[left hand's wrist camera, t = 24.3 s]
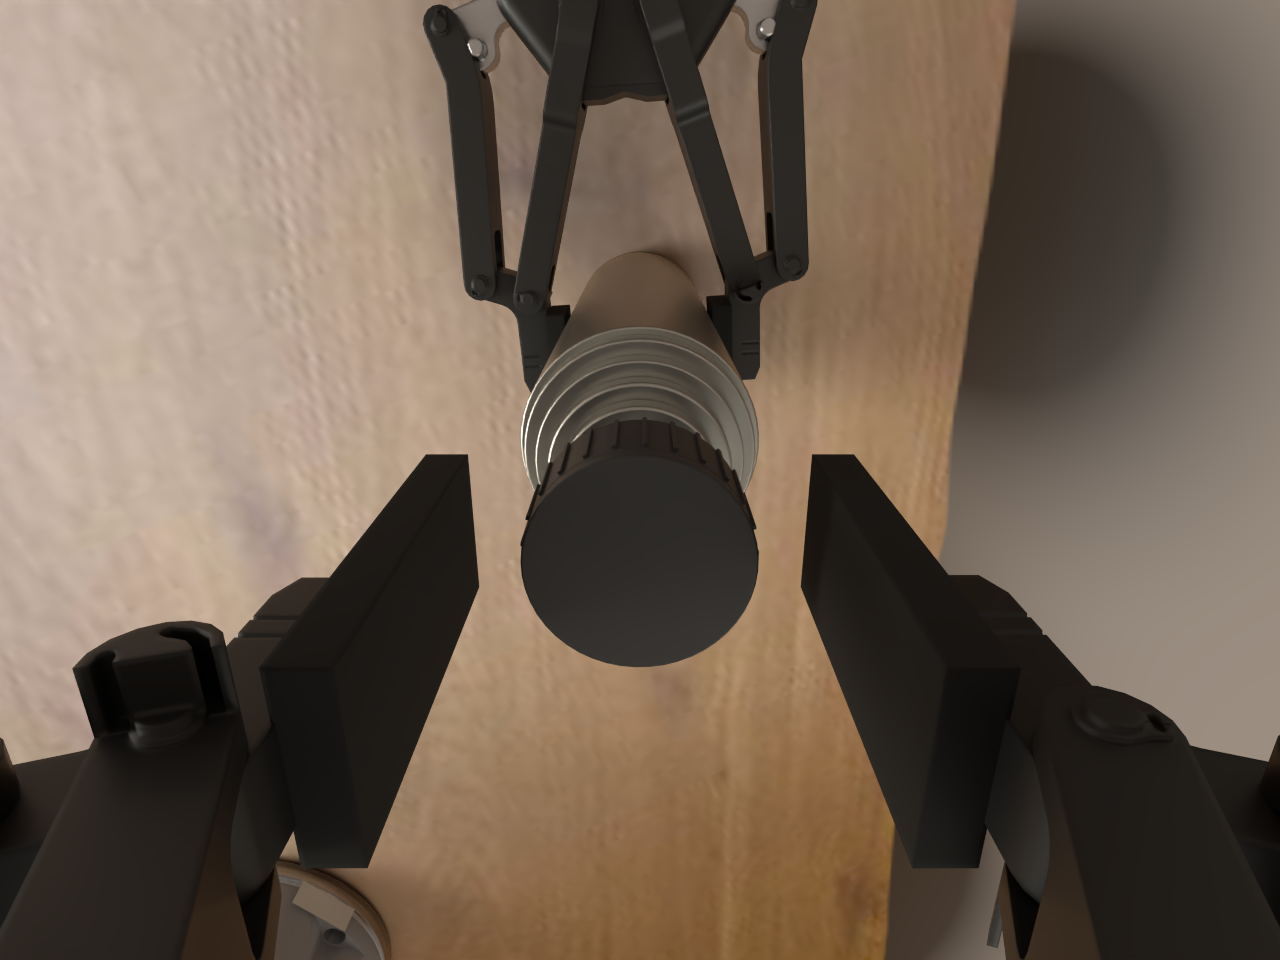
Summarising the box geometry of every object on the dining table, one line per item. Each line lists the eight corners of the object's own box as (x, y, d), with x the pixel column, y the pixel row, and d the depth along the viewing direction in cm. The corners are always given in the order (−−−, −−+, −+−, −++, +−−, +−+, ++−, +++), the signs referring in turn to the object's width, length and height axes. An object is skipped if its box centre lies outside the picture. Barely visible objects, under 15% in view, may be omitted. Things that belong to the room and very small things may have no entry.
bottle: (642, 225, 35) (646, 310, 12) (724, 315, 37) (870, 550, 13) (555, 311, 37) (407, 539, 13) (637, 395, 38) (634, 732, 15)
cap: (531, 410, 14) (514, 445, 12) (757, 420, 14) (775, 457, 12) (533, 606, 15) (518, 665, 13) (736, 614, 15) (750, 675, 13)
